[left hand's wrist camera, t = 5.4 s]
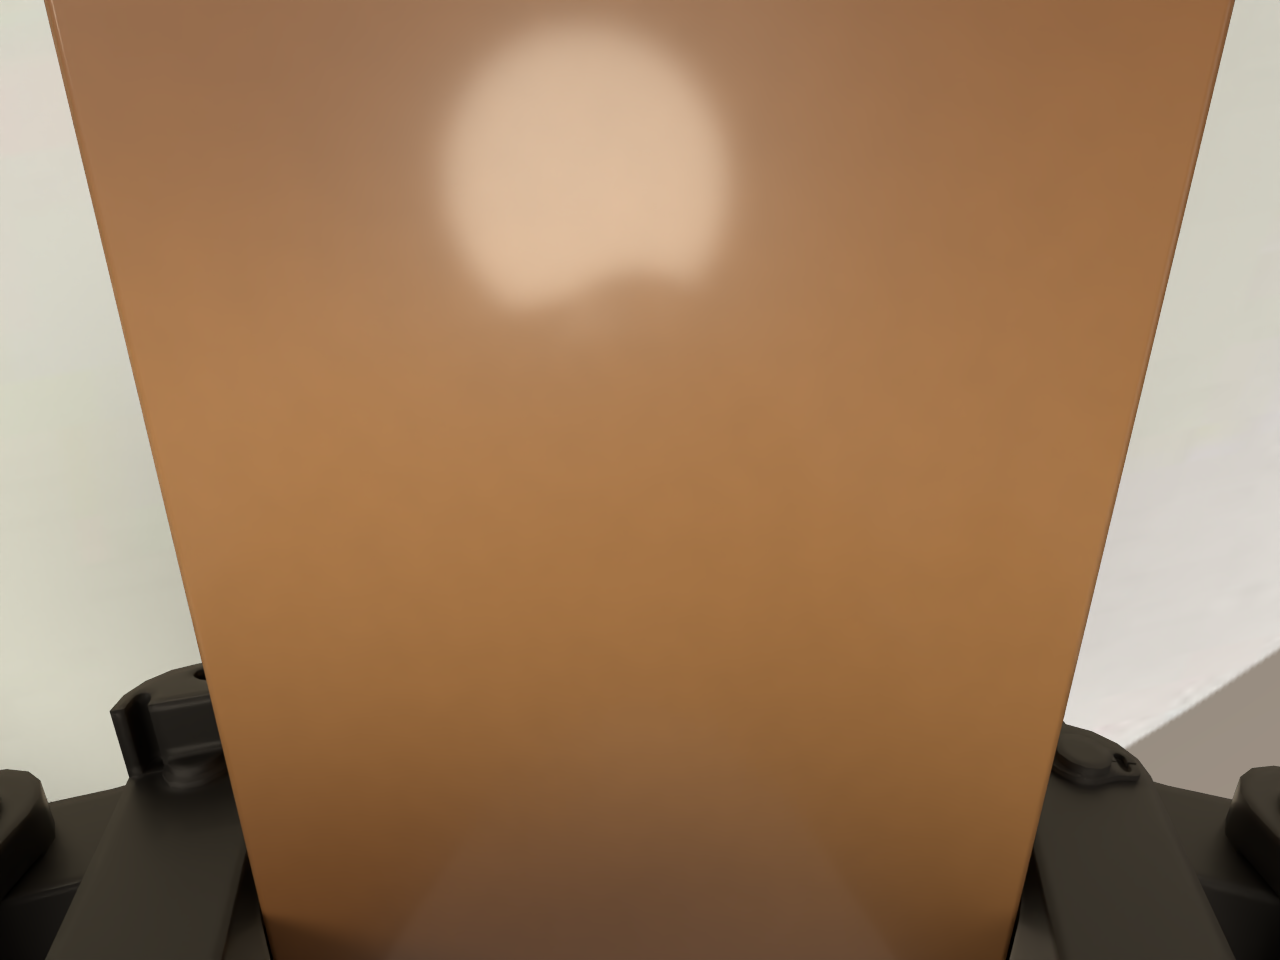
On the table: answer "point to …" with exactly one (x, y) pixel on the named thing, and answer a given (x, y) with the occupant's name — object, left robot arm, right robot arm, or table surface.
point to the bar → (639, 441)
